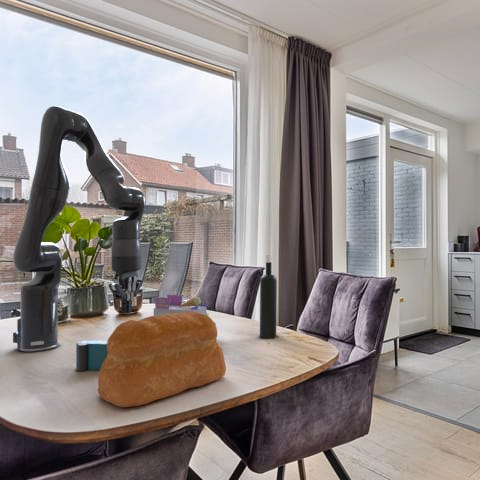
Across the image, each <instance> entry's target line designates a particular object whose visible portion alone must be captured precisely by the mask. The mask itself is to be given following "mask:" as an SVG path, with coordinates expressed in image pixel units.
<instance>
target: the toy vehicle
mask: <svg viewBox="0 0 480 480" xmlns="http://www.w3.org/2000/svg"><path fill="white" fill-rule="evenodd" d="M182 299H183V295H182V294H180V295H179V294H167V295H166V297H156V296H155V297H154V308H153V316H157V315H162V314H173V313H182V312H185V311H193V312H198V313H202V314H205V315H207V316H208V312H207V306H208V303H202V300H201V299H202V298H200V297H199V296H194V297H192V298H190V299H188V300H189V301H187V302H185V303H184V304H182ZM201 303H202V304H201ZM213 322H214V323H215V325H216V326H217V323H216V322H215V321H213Z"/></svg>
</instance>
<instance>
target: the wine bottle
mask: <svg viewBox="0 0 480 480" xmlns="http://www.w3.org/2000/svg"><path fill="white" fill-rule="evenodd" d="M272 263H273V253H272V252H265V274H263V275H262V276H260V279H259V282H260V283H259V338H260V339H265V340H268V339H275V338H276V337H277V306H278V305H277V302H278V301H277V297H278V287H277V286H278V278H277V277H276V276H275V275H274V274H272V266H273V265H272Z"/></svg>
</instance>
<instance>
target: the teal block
mask: <svg viewBox="0 0 480 480" xmlns="http://www.w3.org/2000/svg"><path fill="white" fill-rule="evenodd" d="M107 342H108V340H81V341H80V342H76V344H75V345H76V347H75V348H76V358H75V359H76V360H75V361H76V363H75V364H76V368H75V369H76V370H77V371H78V372H80V371H81V372H84V371H100V369H101V367H102V364H103V362H104V361H105V359H106V357H107V355H108V351H107Z"/></svg>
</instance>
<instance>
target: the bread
mask: <svg viewBox="0 0 480 480" xmlns="http://www.w3.org/2000/svg"><path fill="white" fill-rule="evenodd" d="M214 322H215V321H214V320H213V319H212V318H211V317H210V316H209V315H208V314H207V315H205V314H202V313H198V312H193V311H185V312H182V313H173V314H162V315H157V316H154V315H150V316H146V317H144V318H141V319H139V320H136V319H135V320H134V319H129V320H126V321H122V323H119V324H118V325H117V326H116V327H115V328H114V330H113V331H112V333H111V334H110V336H109V337H108V339H107V341H108V342H107V351H108V355H107V357H106V359H105V361H104V362H103V364H102V367H101V369H100V370H99V373H98V377H97V378H98V379H97V380H98V381H97V383H98V387H97V392H98V395H99V397H100V398H101V399H102V400H103V401H105V402H107V403H110V404H112V405H114V406H116V407H119V408H131V407H137V406H138V407H139V406H143V405H146V404H149V403H152V402H154V401H156V400H161V399H164V398H166V397H172V396H175V395H178V394H180V393H182V392H184V391H186V390H188V389H194V388H198V387H202V386H204V385H208V384H211V383H213V382H215V381H218V380H220V379H222V378H223V377H224V376H225V375H226V372H227V365H226V360H225V356H224V352H223V349H222V347H221V346H220V344H219V343H218V340H217V337H218V328H217V324H216V325H215V323H216V322H215V323H214Z"/></svg>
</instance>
